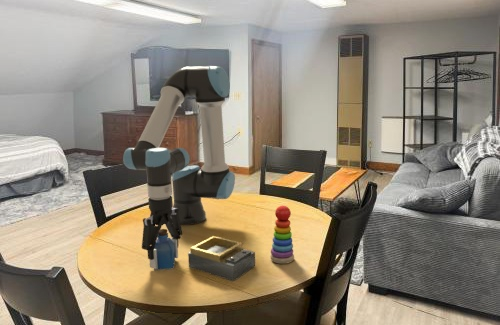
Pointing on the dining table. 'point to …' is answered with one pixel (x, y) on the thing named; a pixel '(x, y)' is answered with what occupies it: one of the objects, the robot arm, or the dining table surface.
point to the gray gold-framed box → (221, 258)
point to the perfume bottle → (164, 251)
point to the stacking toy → (282, 237)
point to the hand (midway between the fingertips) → (164, 262)
